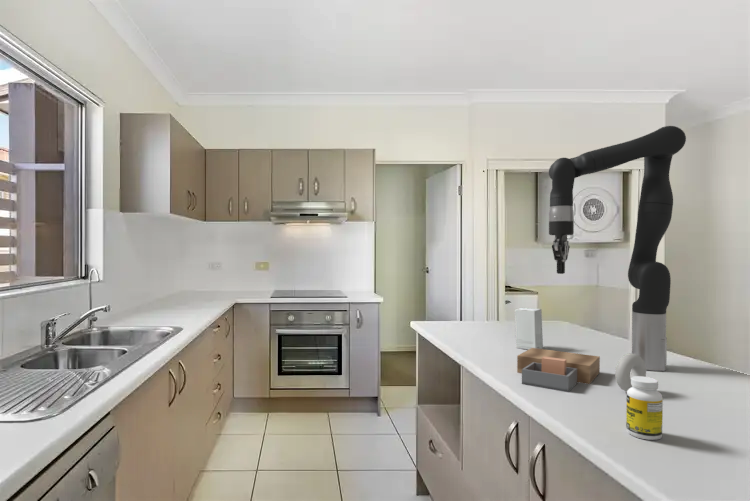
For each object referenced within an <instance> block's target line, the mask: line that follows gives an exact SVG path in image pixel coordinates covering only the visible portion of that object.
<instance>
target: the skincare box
mask: <svg viewBox="0 0 750 501" xmlns="http://www.w3.org/2000/svg"><path fill="white" fill-rule="evenodd" d="M542 311H543V310H542V309H541V308H529V307H528V308H525V307H519V308H516V309H514V320H515V321H514V323H515V326H514V327H515V348H516V349H521V350H526V351H527V350H529V349H531V348H537V349H544V341H543V340H544V339H543V336H544V335H543V316H542Z"/></svg>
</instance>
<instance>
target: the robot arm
mask: <svg viewBox="0 0 750 501" xmlns="http://www.w3.org/2000/svg"><path fill="white" fill-rule="evenodd" d="M686 142H687V137H686V134H685V131H684V130H682V128H680V127H678V126H675V125H665V126H663V127H659V128H658V129H656V130H654V131H652V132H650V133H648V134H644V135H643V136H640V137H637V138H634V139H631V140H628V141H625V142H621V143H617V144H612V145H610V146H605V147H601V148H598V149H597V148H596V149H593V150H590V151H586V152H584V153H581V154H579V155H577V156H575V157H570V158H568V157H559V158H558V159H556V160H555V161H554V162H552V164H551V165H550V166H549V168H548V176H549V178H550V179H551V180H552V181H551V190H550V194H549V212H548V235H550V236H554V240H553V243H552V245H551V250H552V253H553V259H554V261H555V262H556V274H561V275H563V274H565V272H566V262H567V260H568V256H569V253H570V247H571V246H570V245H569V244H570V243H569V242H570V241H569V240H568V236H573V235H574V230H575V229H574V228H575V224H574V223H575V222H574V220H575V219H574V218H575V217H574V216H575V212H574V192H573V191H574V186H575V179H576V178H579V177H581V176H585V175H591V174H595V173H598V172H602V171H605V170H606V171H607V170H610V169H612V168H615V167H618V166H621V165H623V164H627V163H629V162H633V161H635V160H638V159H643V164H644V165H643V166H644V167H643V178H642V182H641V183H642V184H641V189H640V190H641V191H640V197H639V200H638V211H637V218H636V220H637V221H636V228H635V236H634V244H633V250H632V253H631V257H630V262H629V266H628V271H627V278H628V279H627V280H628V282H629V284H630V285H631V287H633V288H635V289H637V290H639V293H638V298H637V299H636V301H634V302H632V305H631V353H632V354H637V355H638V356H640V357H641V358H642V359H643V361H644V363H645V366H646V371H656V372H657V371H660V372H666V369H667V366H668V365H667V357H668V351H667V350H668V347H667V345H668V344H667V342H668V340H667V339H668V338H667V308H668V307H669V304H670V298H671V295H670V294H671V284H672V283H671V281H672V280H671V273H670V269H668V267H667V266H666V265H665V264H664V263H662V262H659V261H657V254H658V252H657V251H658V248H659V245H660V243H661V241H662V239H663V237H664V235H665V234H666V232H667V231H668V228H669V226H670V223H671V220H672V214H673V206H674V194H673V190H672V185H671V182H670V170H671V166H672V159H673V156H674V155H676V154H678V153H679V152H680V151H681V150H682V149H683V148H684V146H685V145H686Z"/></svg>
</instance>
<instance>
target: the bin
mask: <svg viewBox="0 0 750 501" xmlns="http://www.w3.org/2000/svg"><path fill="white" fill-rule="evenodd" d="M521 384H522V385H527V386H531V387H536V388H537V387H538V388H543V389H550V390H555V391H561V392H566V393H569V392H570V391H571V390H572V389H573V388H574V387H575V386H577V384H578V382H577V368H570V367H566V376H565V375H559V374H553V373H546V372H542V363H536V362H533V363H531V364H529V365H528V366H526V367H525V368H523V369H522V373H521Z"/></svg>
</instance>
